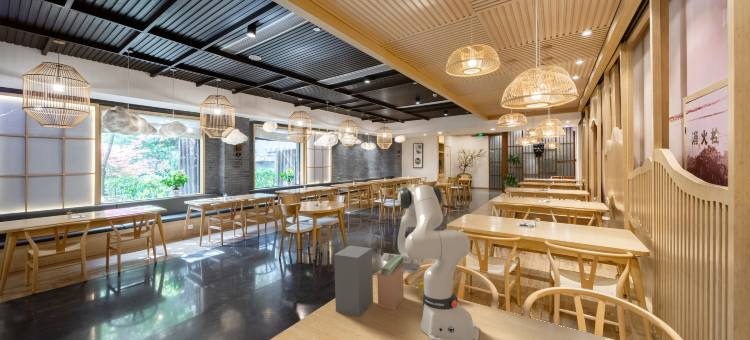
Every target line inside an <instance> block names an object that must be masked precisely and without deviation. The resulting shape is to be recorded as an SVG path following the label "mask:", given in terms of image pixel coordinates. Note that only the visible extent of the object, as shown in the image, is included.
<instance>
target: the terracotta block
mask: <svg viewBox="0 0 750 340" xmlns="http://www.w3.org/2000/svg"><path fill="white" fill-rule="evenodd" d="M376 275H377V277H376V278H377V306H378V307H379V308H382V309H388V310H391V311H395V310H396V309H397V307H398V306H399V305H400V303H401V302H402V301H403V299H404V296H405V295H404V293H405V291H404V271H403V266H399V267H398V268H397V269H396V270H395V271H394V272H393V273H392V274H391V275H390V276H386V275H381V270H380V271H379V272H378V273H376Z"/></svg>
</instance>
